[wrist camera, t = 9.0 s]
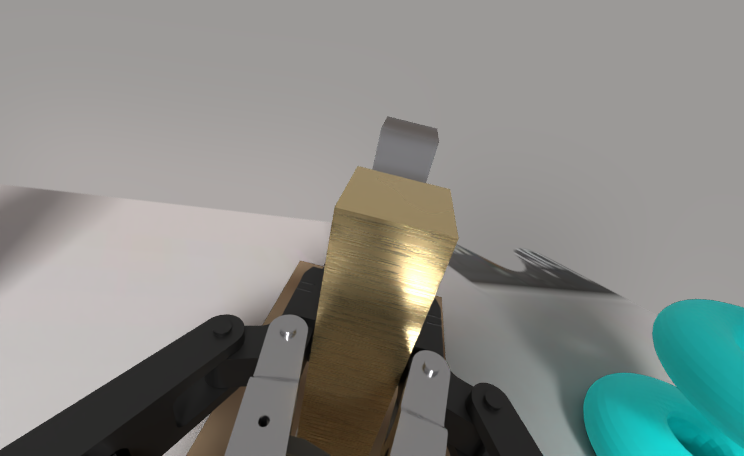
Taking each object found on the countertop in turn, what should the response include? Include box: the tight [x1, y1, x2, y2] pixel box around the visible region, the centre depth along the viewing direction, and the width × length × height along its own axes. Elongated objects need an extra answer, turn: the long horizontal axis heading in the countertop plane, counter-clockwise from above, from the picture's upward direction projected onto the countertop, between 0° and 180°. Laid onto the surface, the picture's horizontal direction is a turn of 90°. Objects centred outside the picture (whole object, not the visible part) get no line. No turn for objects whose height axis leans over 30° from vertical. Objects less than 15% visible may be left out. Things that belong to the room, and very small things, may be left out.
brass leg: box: [297, 166, 458, 456], centre depth 12 cm, size 3×3×13 cm
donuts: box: [583, 299, 744, 456], centre depth 17 cm, size 10×10×10 cm
